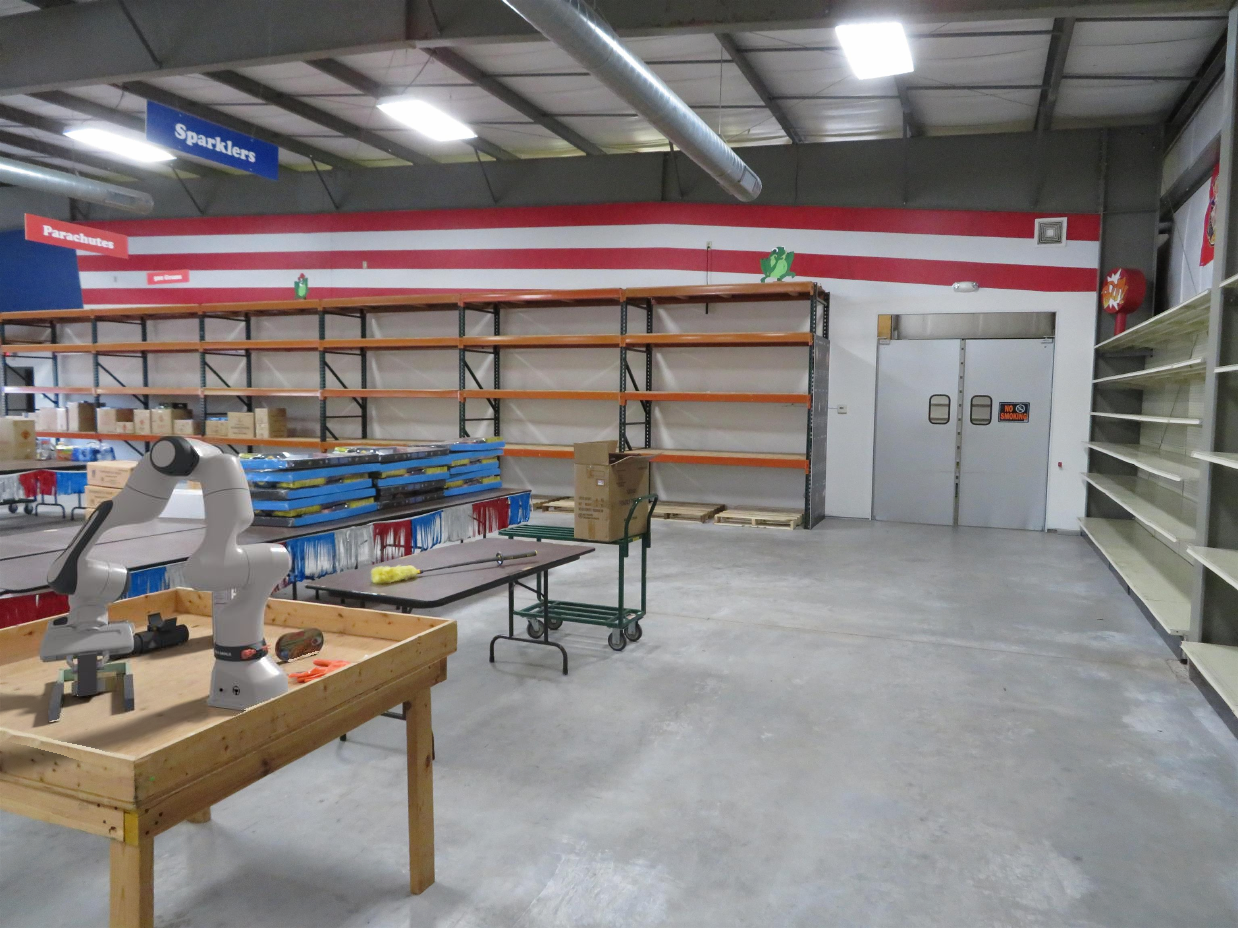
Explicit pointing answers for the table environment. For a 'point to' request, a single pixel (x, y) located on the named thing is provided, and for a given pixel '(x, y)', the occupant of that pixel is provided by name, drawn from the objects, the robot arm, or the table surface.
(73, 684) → the dark grey block
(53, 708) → the slot jig
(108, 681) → the brown wooden cube
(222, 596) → the cracker box
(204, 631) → the table surface
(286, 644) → the tin
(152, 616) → the laser sight
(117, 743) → the table surface
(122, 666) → the open frame
